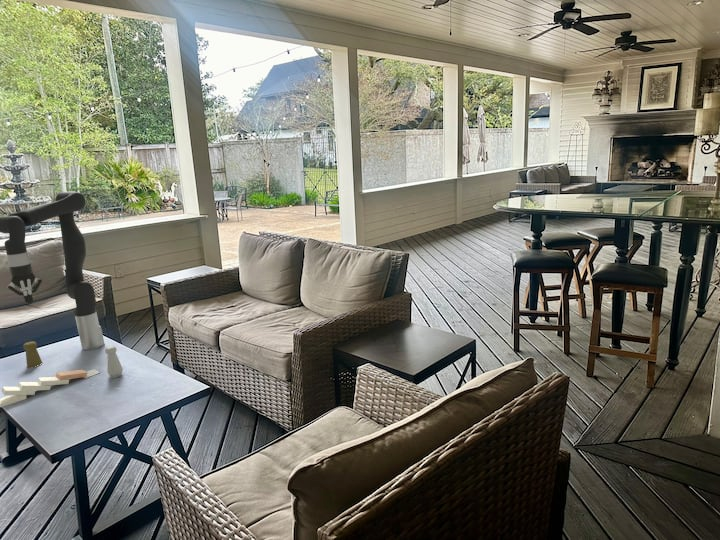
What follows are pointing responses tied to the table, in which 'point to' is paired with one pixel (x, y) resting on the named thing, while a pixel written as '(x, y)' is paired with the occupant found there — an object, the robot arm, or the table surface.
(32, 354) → the cork
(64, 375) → the domino
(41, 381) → the domino
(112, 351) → the salt shaker
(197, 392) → the table surface
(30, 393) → the domino
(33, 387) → the domino
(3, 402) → the domino
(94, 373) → the block
